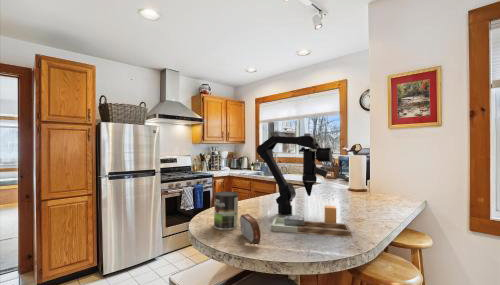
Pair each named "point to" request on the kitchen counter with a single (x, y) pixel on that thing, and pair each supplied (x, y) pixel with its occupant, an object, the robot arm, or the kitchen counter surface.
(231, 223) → the coffee can
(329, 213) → the rake block
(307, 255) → the kitchen counter surface
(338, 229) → the channel board
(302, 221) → the chip
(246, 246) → the kitchen counter surface
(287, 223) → the chip
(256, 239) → the grey and brown slab
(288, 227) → the tray
